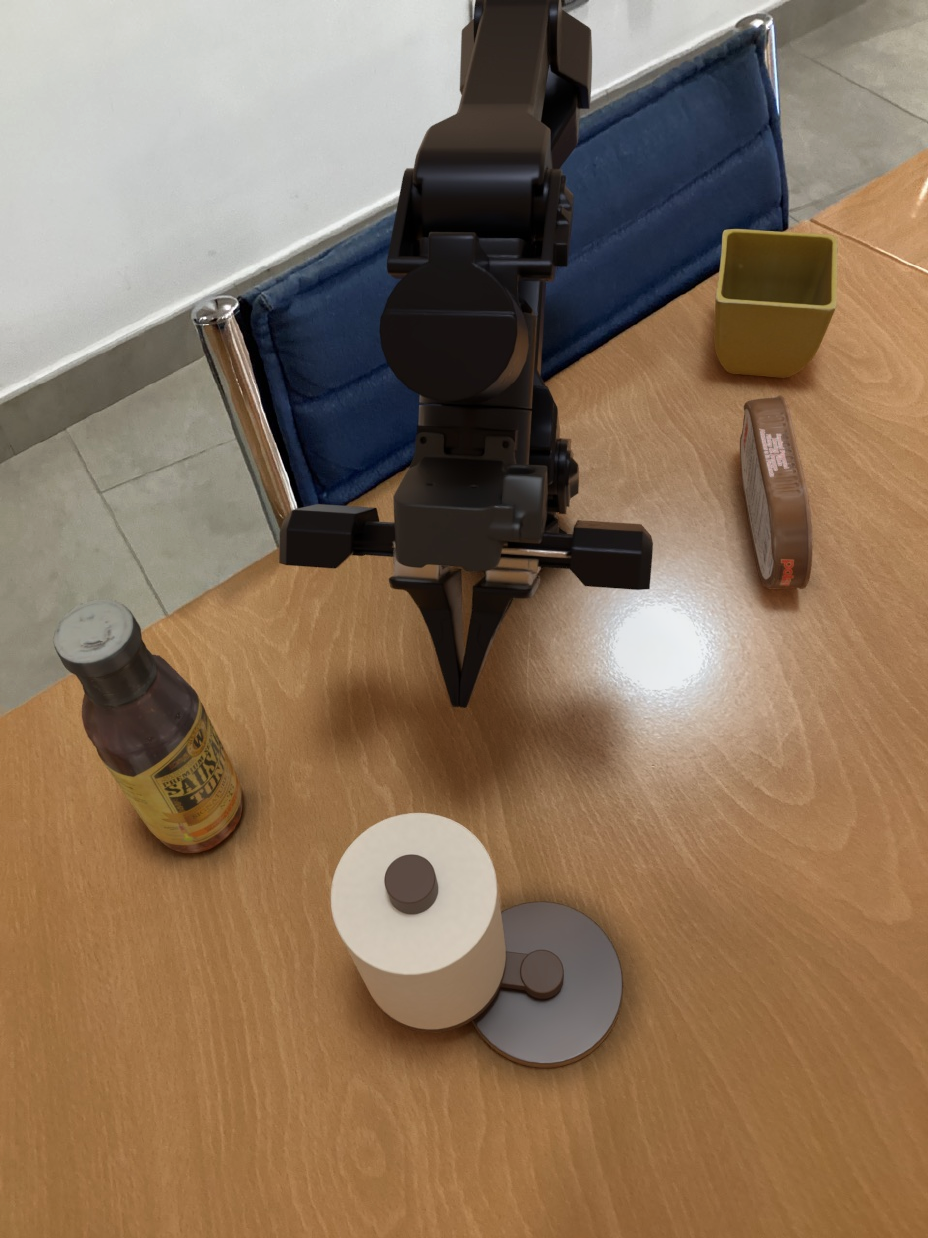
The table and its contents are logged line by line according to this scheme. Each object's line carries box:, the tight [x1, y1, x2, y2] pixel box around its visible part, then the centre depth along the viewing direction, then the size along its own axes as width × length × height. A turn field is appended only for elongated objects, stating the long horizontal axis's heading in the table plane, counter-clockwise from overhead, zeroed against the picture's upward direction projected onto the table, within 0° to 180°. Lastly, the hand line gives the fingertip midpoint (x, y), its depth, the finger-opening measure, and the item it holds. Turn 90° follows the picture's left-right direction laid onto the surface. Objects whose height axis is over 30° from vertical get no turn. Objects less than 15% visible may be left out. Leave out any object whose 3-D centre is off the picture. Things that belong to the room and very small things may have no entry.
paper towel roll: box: [329, 812, 564, 1033], centre depth 54 cm, size 10×9×13 cm
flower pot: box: [713, 228, 839, 379], centre depth 84 cm, size 9×9×9 cm
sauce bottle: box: [52, 598, 244, 854], centre depth 60 cm, size 7×6×20 cm
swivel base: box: [471, 900, 624, 1069], centre depth 60 cm, size 9×9×1 cm
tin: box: [739, 395, 814, 590], centre depth 74 cm, size 15×3×8 cm, turn 179°
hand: (460, 706), depth 56 cm, fingers closed
